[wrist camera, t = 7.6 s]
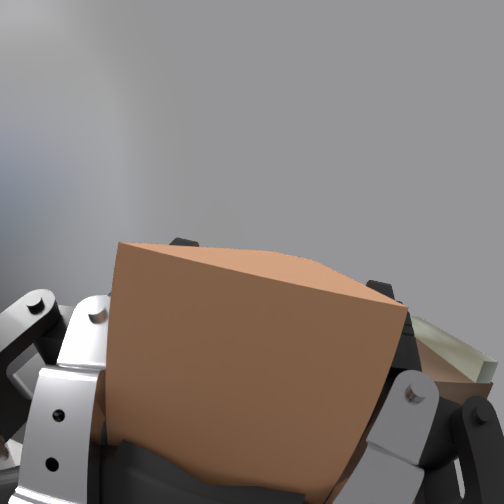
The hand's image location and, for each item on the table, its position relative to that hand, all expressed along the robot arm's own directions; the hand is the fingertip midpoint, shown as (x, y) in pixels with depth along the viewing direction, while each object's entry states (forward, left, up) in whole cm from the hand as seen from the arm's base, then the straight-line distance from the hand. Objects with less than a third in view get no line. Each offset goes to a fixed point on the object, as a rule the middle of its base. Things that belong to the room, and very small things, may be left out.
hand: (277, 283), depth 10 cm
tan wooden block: (0, +6, -3) cm, 7 cm away
